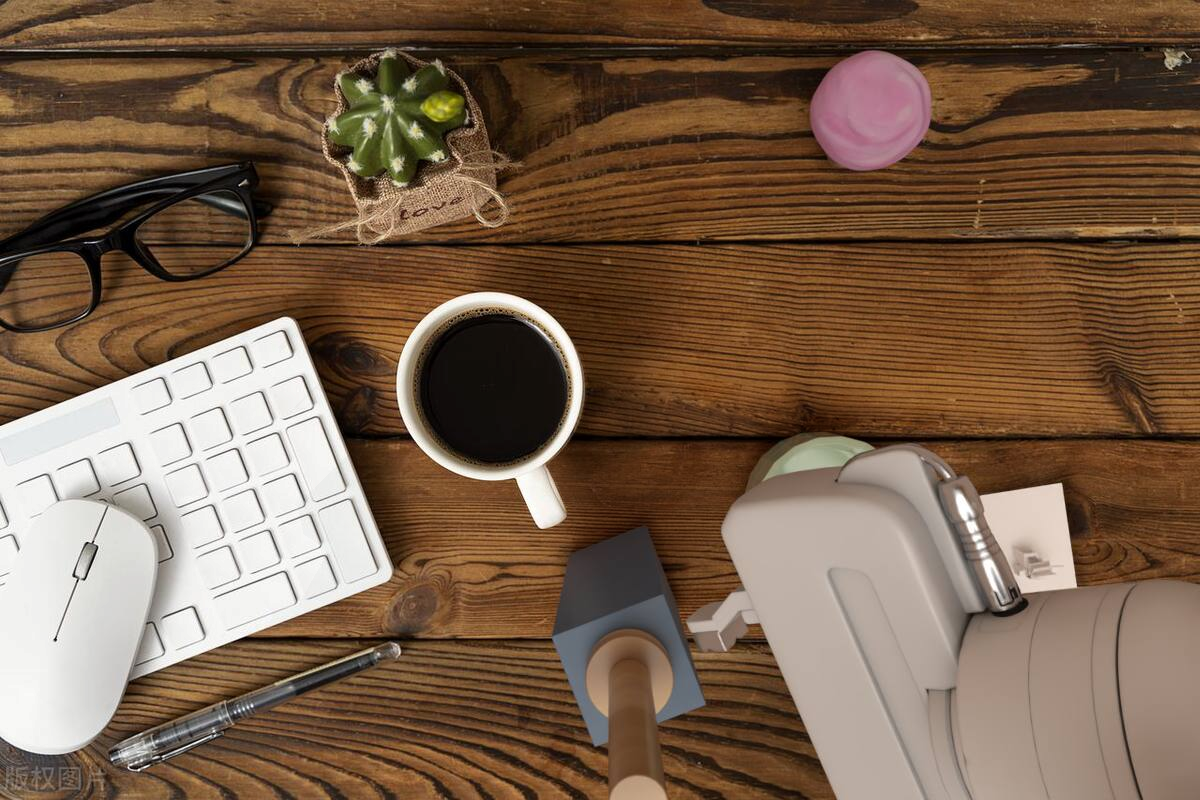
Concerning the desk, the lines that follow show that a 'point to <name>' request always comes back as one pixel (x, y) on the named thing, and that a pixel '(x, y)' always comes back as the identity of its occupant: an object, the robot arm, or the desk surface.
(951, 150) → the desk surface
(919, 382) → the desk surface
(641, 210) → the desk surface
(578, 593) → the stand
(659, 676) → the wooden pestle
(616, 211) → the desk surface
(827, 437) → the bowl
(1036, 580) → the adhesive hook
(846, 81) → the cupcake
